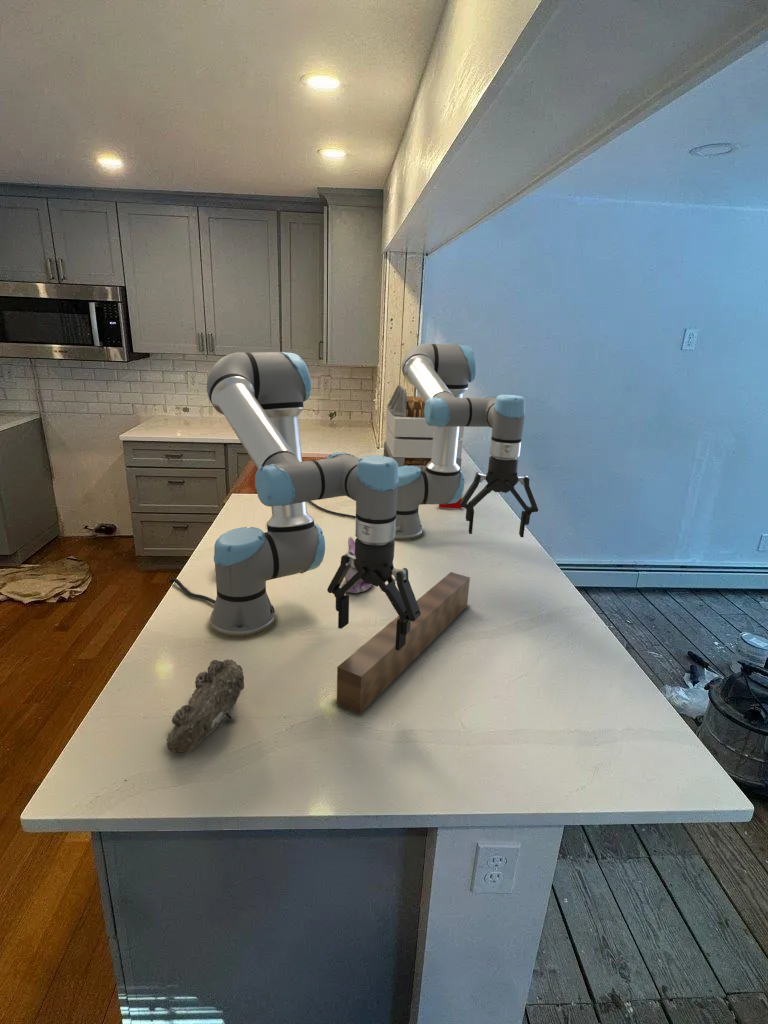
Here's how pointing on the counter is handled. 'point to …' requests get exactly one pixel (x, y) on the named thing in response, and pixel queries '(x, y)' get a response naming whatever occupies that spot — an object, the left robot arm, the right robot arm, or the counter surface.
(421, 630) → the beam
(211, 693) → the fossil
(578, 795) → the counter surface
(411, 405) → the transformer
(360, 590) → the figurine
